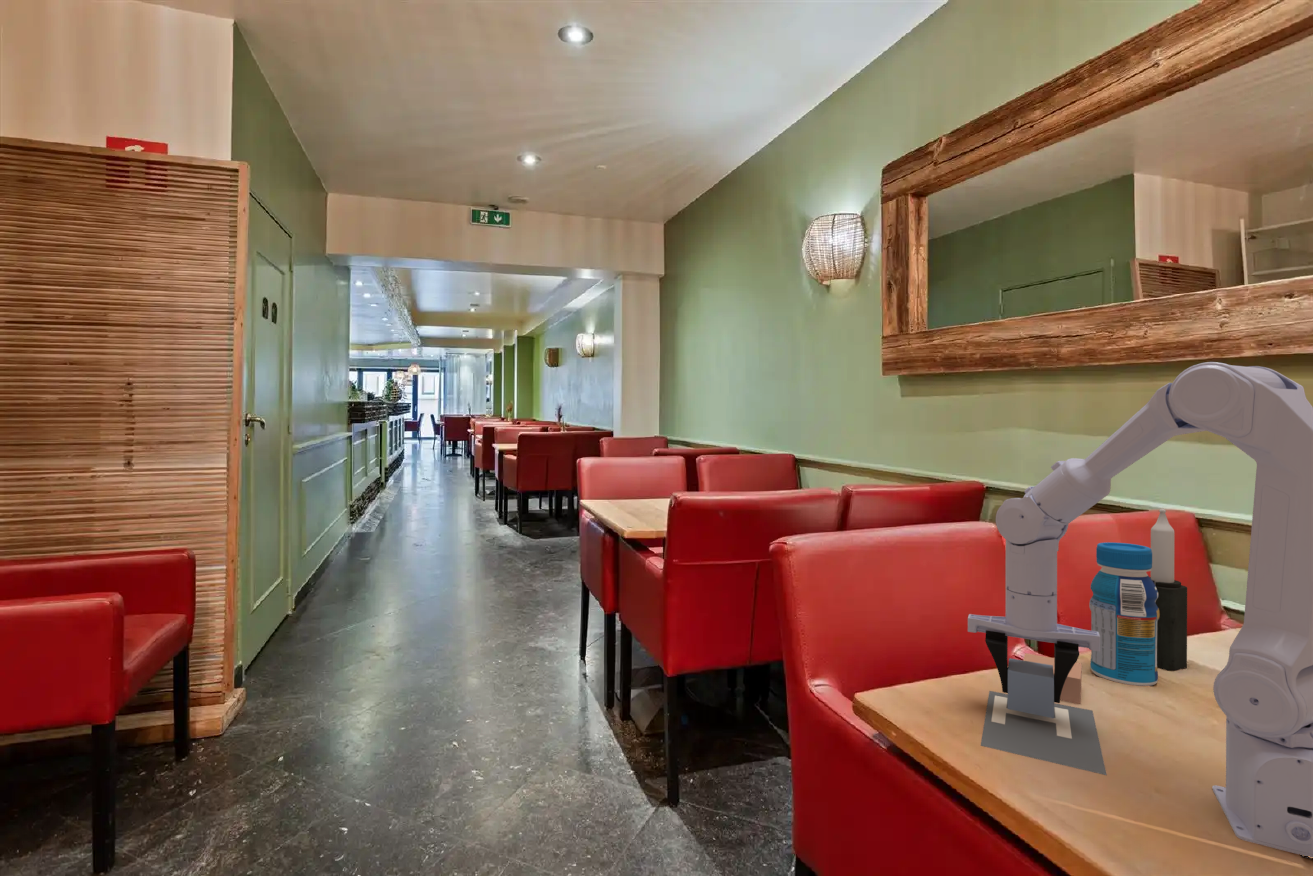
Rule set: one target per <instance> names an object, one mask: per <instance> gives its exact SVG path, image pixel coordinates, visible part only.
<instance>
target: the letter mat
mask: <svg viewBox="0 0 1313 876" xmlns="http://www.w3.org/2000/svg"><path fill="white" fill-rule="evenodd" d="M987 698H988V699H987V703H986V704H987V705H986V709H985V715H984V722H983V729H982V735H981V741H980V746H981V747H983V748H989V749H993V750H997V751H1000V752H1001V751H1002V752H1006V753H1011V754H1014V755H1019V756H1021V757H1022V756H1023V757H1027V758H1032V759H1035V760H1040V761H1044V762H1049V763H1052V764H1056V765H1060V766H1066V767H1069V768H1074V769H1078V770H1082V771H1087V772H1091V773H1095V774H1099V775H1104V776H1107V775H1108V774H1107V769H1106V765H1105V760H1104V757H1103V752H1102V747H1101V743H1100V738H1099V734H1098V730H1097V725H1096V721H1095V716H1094V711H1093V710H1092V709H1087V708H1080V707H1076V706H1071V705H1065V704H1060V703H1056V702H1054V718H1050V717H1045V716H1040V715H1035V714H1030V713H1025V712H1020V711H1015V710H1010V709H1008V693H1004V692H998V691H994V690H989V692H988V697H987Z"/></svg>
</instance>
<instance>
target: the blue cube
mask: <svg viewBox="0 0 1313 876" xmlns="http://www.w3.org/2000/svg"><path fill="white" fill-rule="evenodd" d="M1007 694H1008V709H1010V710H1015V711H1020V712H1025V713H1030V714H1035V715H1040V716H1045V717H1050V718H1054V703H1055V702H1054V673H1053V665H1047V664H1041V663H1035V662H1029V661H1023V660H1022V659H1017V658H1010V657H1009V658H1008V693H1007Z"/></svg>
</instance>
